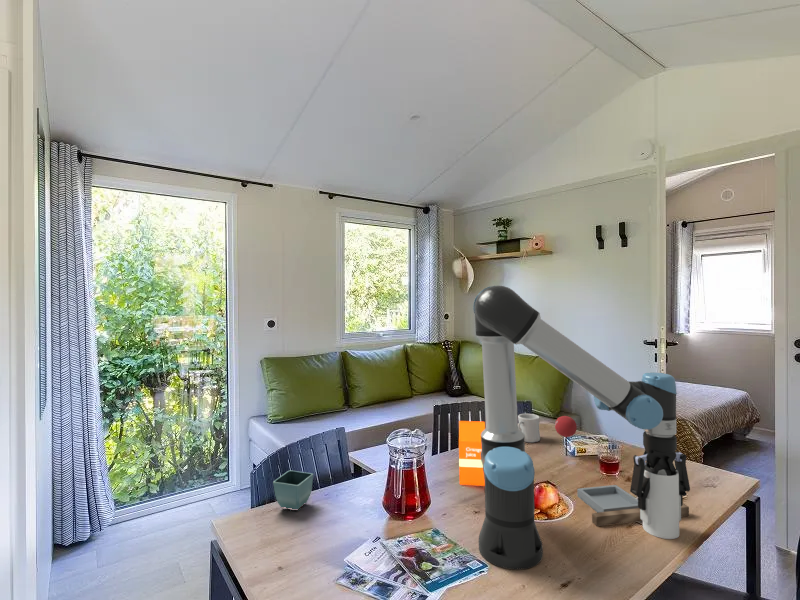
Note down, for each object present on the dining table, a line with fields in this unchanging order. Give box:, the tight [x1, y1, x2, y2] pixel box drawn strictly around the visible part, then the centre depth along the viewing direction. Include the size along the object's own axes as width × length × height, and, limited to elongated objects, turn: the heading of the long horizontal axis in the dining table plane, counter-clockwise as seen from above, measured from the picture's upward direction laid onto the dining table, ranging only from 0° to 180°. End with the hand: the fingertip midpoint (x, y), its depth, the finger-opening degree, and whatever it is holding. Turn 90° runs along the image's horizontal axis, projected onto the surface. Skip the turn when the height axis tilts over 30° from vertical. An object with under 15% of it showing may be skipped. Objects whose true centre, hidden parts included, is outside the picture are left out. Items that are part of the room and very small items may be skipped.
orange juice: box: [458, 420, 486, 487], centre depth 146 cm, size 8×9×20 cm
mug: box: [517, 413, 541, 443], centre depth 184 cm, size 12×9×10 cm
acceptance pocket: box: [576, 484, 639, 513], centre depth 128 cm, size 13×13×2 cm
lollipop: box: [554, 415, 578, 456], centre depth 166 cm, size 8×8×15 cm
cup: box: [642, 467, 680, 540], centre depth 113 cm, size 8×8×16 cm
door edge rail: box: [591, 503, 690, 527], centre depth 119 cm, size 28×2×2 cm, turn 99°
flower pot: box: [272, 469, 314, 510], centre depth 130 cm, size 9×9×9 cm
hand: (660, 519), depth 113 cm, fingers closed on cup, 8 cm apart
